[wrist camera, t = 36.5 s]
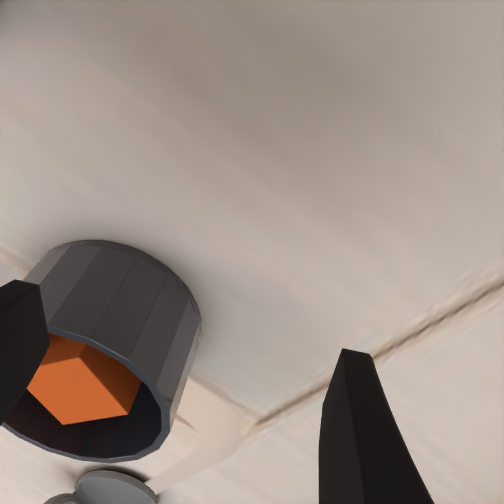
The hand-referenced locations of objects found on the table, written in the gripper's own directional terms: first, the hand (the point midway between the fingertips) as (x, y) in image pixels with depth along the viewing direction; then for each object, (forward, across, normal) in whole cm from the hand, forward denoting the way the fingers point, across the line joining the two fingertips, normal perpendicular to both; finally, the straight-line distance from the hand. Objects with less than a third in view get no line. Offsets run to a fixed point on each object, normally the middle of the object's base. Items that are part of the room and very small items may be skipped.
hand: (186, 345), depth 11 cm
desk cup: (+10, +6, +10) cm, 16 cm away
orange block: (+10, +6, +10) cm, 16 cm away
